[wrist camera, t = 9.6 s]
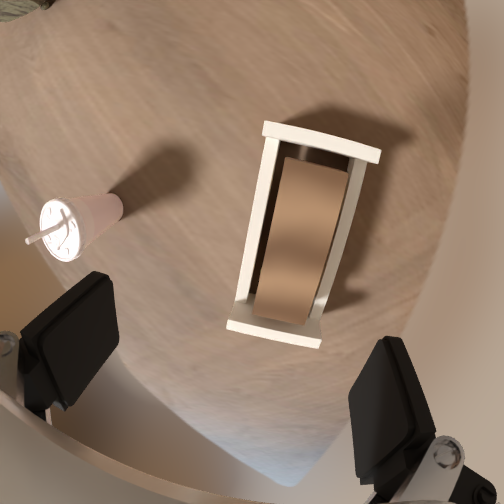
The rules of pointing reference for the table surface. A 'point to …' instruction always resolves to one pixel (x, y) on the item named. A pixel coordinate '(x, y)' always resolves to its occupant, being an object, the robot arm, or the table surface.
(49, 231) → the smoothie
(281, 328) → the frame
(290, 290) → the plank
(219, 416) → the table surface
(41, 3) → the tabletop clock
